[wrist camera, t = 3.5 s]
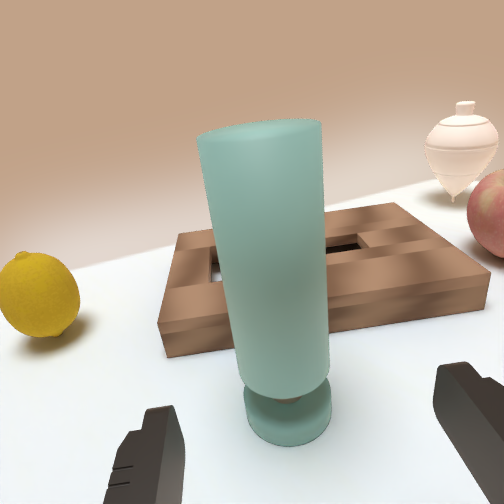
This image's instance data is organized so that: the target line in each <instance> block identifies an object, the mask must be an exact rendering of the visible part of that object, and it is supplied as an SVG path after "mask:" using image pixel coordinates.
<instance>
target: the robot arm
mask: <svg viewBox="0 0 504 504" xmlns="http://www.w3.org/2000/svg"><path fill="white" fill-rule="evenodd" d="M433 408H434V412H435V415H436V417H437V419H438V421H439V423H440V425H441V426H442V428H443V429H444V431H445V433H446V434H447V436H448V437H449V439H450V441H451V442H452V444H453V445H454V447H455V448H456V450H457V452H458V453H459V455H460V456H461V458H462V460H463V461H464V463H465V464H466V466H467V467H468V469H469V471H470V472H471V474H472V475H473V477H474V479H475V480H476V482H477V483H478V485H479V487H480V488H481V490H482V491H483V493H484V494H485V496H486V498H487V499H488V501H489V502H490V504H504V386H503V385H501V384H500V383H498V382H497V381H495V380H494V379H492V378H490V377H487V378H482V377H481V376H480V375H479V374H478V372H477V371H476V370H475V369H474V368H473V367H472V366H471V365H470V364H469V363H468V362H458V363H451V364H445V365H440V366H439V367H438V368H437V374H436V381H435V388H434V395H433ZM184 467H185V444H184V438H183V435H182V432H181V428H180V425H179V422H178V419H177V415H176V412H175V409H174V407H173V405H170V406H163V407H156V408H150V409H147V410H146V412H145V415H144V419H143V424H142V429H141V430H135V431H129V433H128V434H127V436H126V437H125V439H124V440H123V442H122V443H121V445H120V446H119V448H118V450H117V453H116V457H115V461H114V465H113V468H112V469H113V472H112V473H111V476H110V480H109V483H108V489H107V491H106V494H105V498H104V502H103V504H181V502H182V491H183V479H184Z"/></svg>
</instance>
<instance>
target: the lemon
mask: <svg viewBox="0 0 504 504" xmlns="http://www.w3.org/2000/svg"><path fill="white" fill-rule="evenodd" d="M79 307H80V295H79V290H78V286H77V283H76V281H75V279H74V277H73V276H72V274H71V273H70V271H69V270H68V269H67V268H66V267H65V265H64V264H63V263H62V262H60V261H59V260H58V259H56V258H54V257H52V256H49V255H46V254H42V253H28V252H26V251H22V252H19V253H17V254H16V256H15V258H14V259H12V260H11V261H10V262H8V263H7V264H6V265H5V267H4V268H3V269H2V271H1V272H0V309H1V311H2V313H3V315H4V317H5V318H6V319H7V321H8V322H9V323H10V324H11V325H12V326H13V327H14V328H15V329H16V330H18V331H19V332H21V333H23V334H26V335H29V336H32V337H48V336H53V337H58V336H60V335H61V334H62V332H63V331H64V330H65V329H66V328H67V327H68V326H69V325H70V324H71V323H72V322H73V321H74V319H75V318H76V316H77V314H78V311H79Z"/></svg>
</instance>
